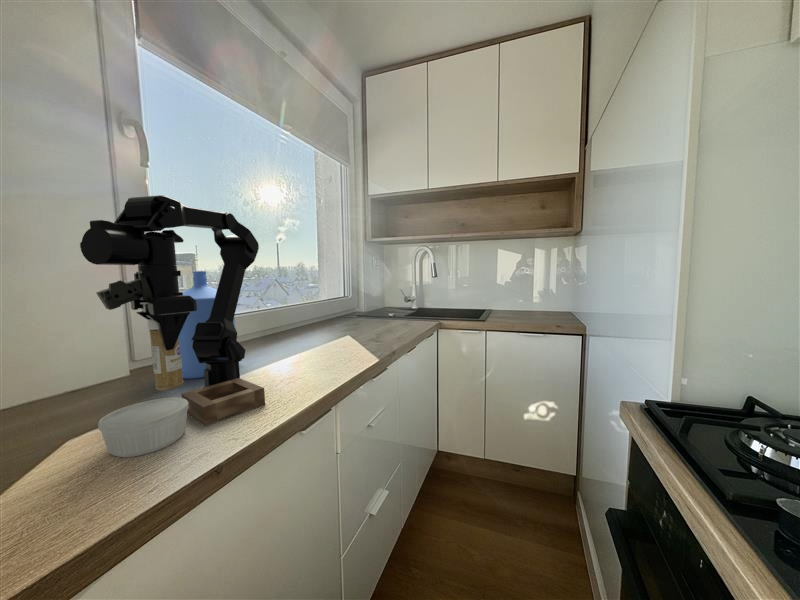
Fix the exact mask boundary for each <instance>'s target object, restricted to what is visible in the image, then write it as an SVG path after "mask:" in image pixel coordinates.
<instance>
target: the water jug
mask: <svg viewBox="0 0 800 600" xmlns="http://www.w3.org/2000/svg"><path fill="white" fill-rule="evenodd" d="M192 273H193V277H192V278H193V286H192V287H190V288H188V289H187V290H184V291H183V295H187V296H191V297H192V298H194V299H195V300H196V305H197V311H191V312H190V314H189V315H188V317H187V319H186V321H185V323H184V325H183V328H182V330H181V332H180V334H179V337H178V338H179V346H180V353H181V363H182V376H183V380H184V379H187V380H189V379H204V370H205V369H206V363H199V361H198V359H197V357H196V354H195V352H194V349H193V348H192V345H193V341H194V340H192V338H193V336H194V334H195V329H196V325H197V324H198V323H205V322H206V321H207V320H208V319H209V317H210V314H211V310H212V307H213V303H214V300H215V296H216V292H217V289H216V288H214V287H211V286H209V285H208V277H207V271H206V270H205V271H204V270H202V271H199V270H198V271H192ZM233 324H234V326H235V327H236V321H235V316H234V319H233Z"/></svg>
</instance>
